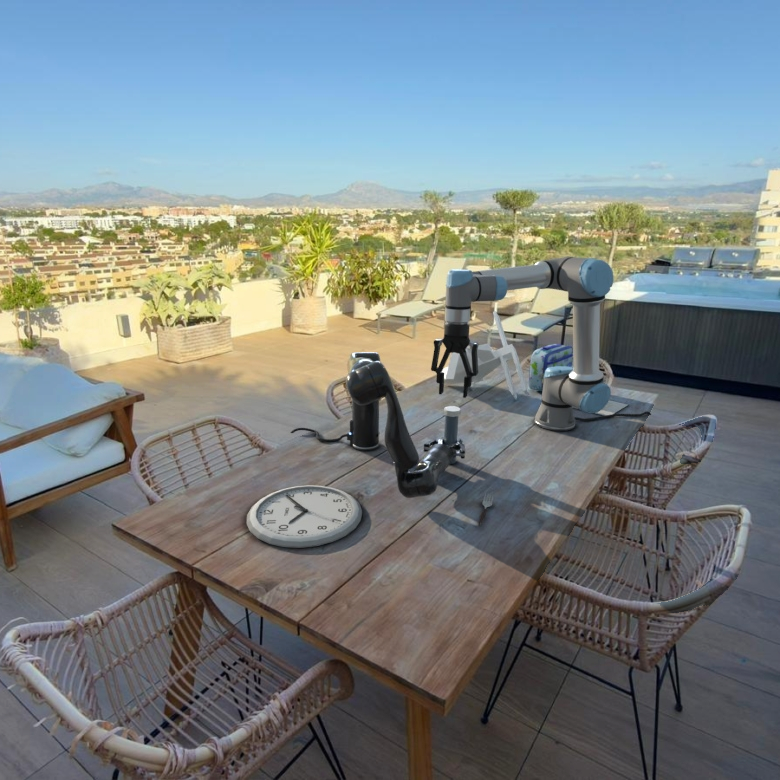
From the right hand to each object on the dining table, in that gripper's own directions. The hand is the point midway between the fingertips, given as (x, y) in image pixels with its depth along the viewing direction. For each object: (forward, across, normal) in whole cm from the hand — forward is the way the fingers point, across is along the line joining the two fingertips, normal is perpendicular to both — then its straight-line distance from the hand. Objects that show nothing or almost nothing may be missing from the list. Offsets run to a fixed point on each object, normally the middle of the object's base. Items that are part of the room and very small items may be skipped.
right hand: (453, 394), depth 164 cm
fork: (+23, -17, +28) cm, 40 cm away
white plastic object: (+23, +8, -78) cm, 82 cm away
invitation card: (+23, -46, -80) cm, 95 cm away
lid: (+5, 0, 0) cm, 5 cm away
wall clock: (+23, +26, +48) cm, 59 cm away
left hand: (+16, 0, -3) cm, 17 cm away
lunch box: (+23, -22, -99) cm, 104 cm away
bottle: (+23, 0, 0) cm, 23 cm away
